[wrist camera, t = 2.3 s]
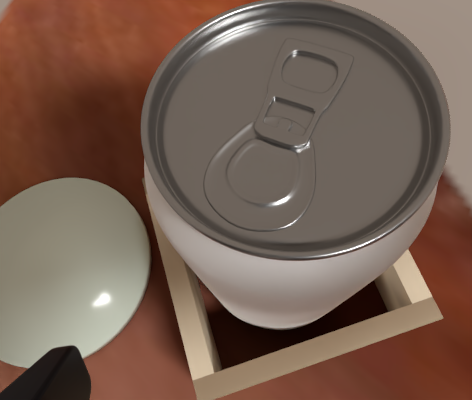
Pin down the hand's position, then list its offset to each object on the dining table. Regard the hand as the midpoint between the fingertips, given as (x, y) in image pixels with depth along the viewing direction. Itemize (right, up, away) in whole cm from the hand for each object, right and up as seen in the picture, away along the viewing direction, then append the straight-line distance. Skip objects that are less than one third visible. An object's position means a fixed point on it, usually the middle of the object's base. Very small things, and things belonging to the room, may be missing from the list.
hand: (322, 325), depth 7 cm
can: (0, -1, +11) cm, 11 cm away
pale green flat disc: (-10, -1, +12) cm, 16 cm away
